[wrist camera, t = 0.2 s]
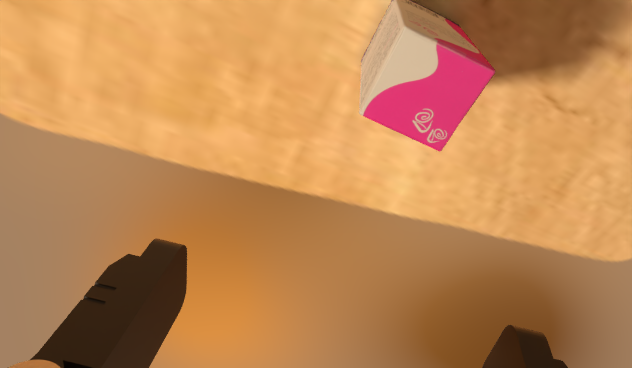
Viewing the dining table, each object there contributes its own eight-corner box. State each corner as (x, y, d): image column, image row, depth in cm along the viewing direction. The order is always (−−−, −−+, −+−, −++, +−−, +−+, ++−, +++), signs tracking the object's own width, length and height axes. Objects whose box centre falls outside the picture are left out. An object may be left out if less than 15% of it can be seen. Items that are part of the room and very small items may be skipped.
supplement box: (358, 63, 36) (354, 114, 26) (395, -9, 33) (406, 17, 23) (422, 94, 37) (441, 155, 27) (463, 26, 34) (502, 66, 24)
